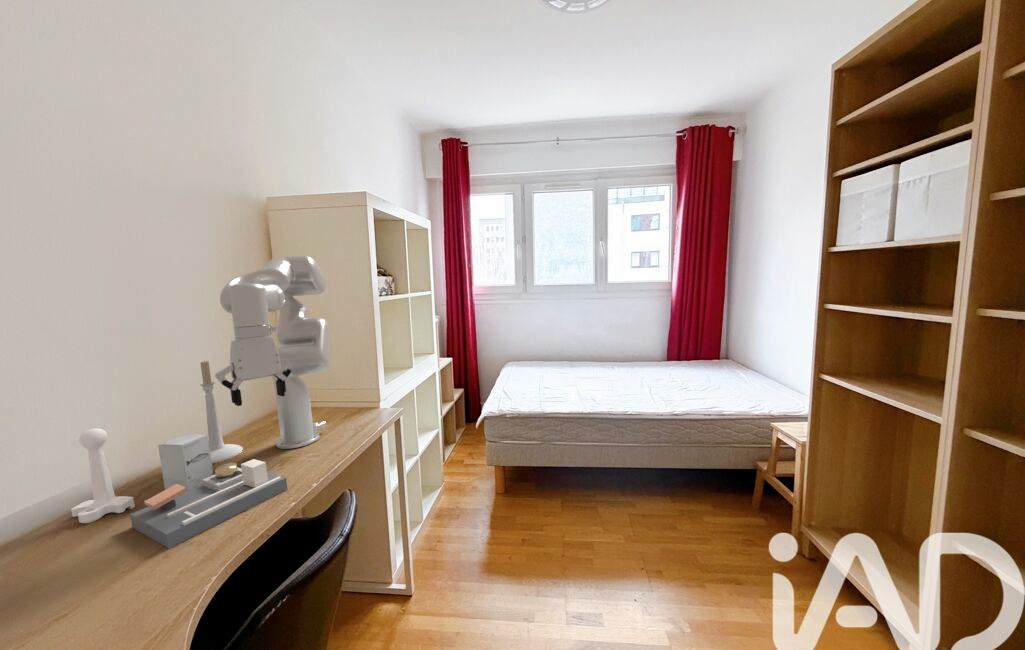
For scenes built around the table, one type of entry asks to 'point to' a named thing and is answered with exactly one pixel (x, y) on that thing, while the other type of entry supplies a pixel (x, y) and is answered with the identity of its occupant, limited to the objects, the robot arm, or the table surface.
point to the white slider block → (254, 473)
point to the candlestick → (215, 423)
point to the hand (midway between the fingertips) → (260, 400)
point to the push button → (226, 470)
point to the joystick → (99, 482)
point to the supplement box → (186, 461)
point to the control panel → (203, 507)
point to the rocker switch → (165, 496)
